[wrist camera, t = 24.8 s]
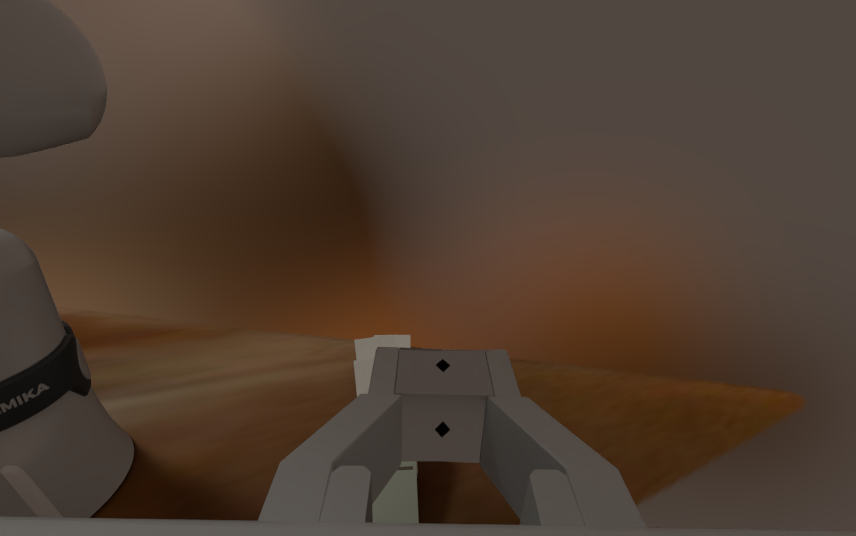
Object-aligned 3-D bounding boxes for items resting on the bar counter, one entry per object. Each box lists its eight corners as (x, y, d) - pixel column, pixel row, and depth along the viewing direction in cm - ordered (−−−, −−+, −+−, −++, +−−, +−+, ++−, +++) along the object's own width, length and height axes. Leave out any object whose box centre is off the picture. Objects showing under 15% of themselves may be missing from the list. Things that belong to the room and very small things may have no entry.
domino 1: (410, 427, 43) (396, 354, 49) (361, 435, 42) (353, 360, 48) (409, 433, 44) (396, 361, 50) (361, 442, 43) (354, 367, 49)
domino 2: (407, 395, 47) (393, 334, 53) (362, 403, 46) (354, 339, 52) (406, 403, 48) (393, 341, 54) (362, 410, 47) (355, 347, 53)
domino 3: (418, 524, 34) (414, 419, 40) (356, 528, 33) (361, 421, 40) (418, 530, 35) (413, 426, 41) (357, 534, 34) (362, 428, 41)
